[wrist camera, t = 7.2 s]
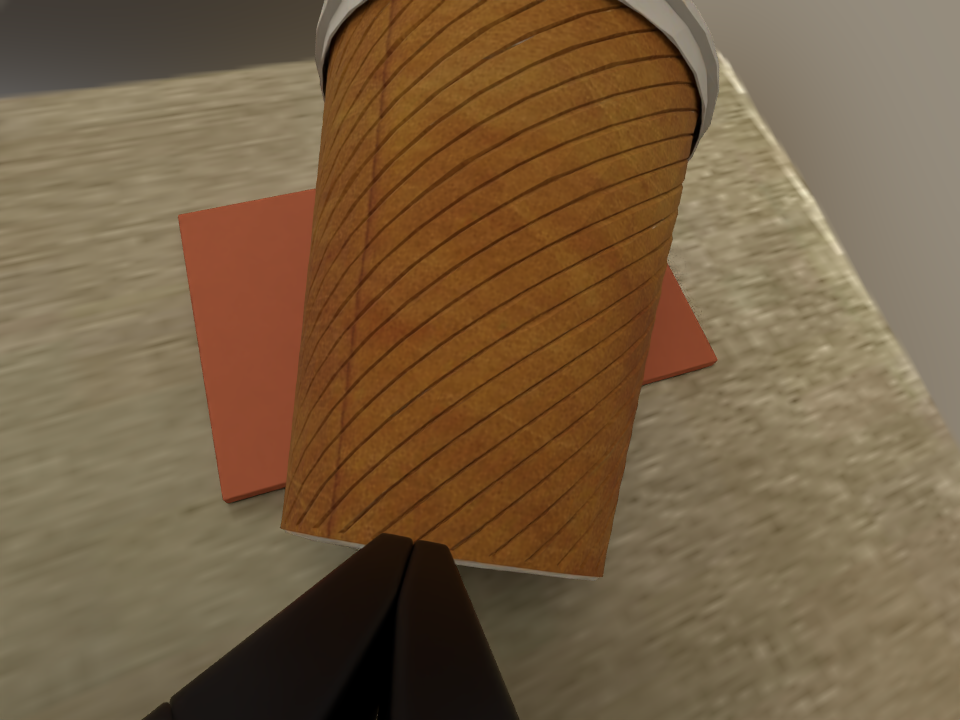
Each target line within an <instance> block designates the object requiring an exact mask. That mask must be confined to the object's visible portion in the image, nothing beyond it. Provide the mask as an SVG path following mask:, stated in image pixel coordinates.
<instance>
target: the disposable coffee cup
mask: <svg viewBox="0 0 960 720" xmlns="http://www.w3.org/2000/svg"><path fill="white" fill-rule="evenodd" d="M315 62H316V65H317V69H318V73H319V77H320V86H321V91H322V95H323V99H324V113H323V126H322V134H321V146H320V154H319V164H318V176H317V182H316V194H315V206H314V212H313V224H312V235H311V246H310V256H309V264H308V271H307V283H306V292H305V300H304V312H303V324H302V333H301V344H300V352H299V361H298V372H297V382H296V390H295V401H294V412H293V419H292V430H291V441H290V451H289V458H288V469H287V479H286V489H285V497H284V506H283V515H282V523H281V527H280V528H281V529H284V530H285V532H287V533H291V534H294V535H297V536H300V537H303V538H306V539H309V540H313V541H318V542H324V543H330V544H335V545H341V546H347V547H353V548H358V549H361V548H363V547H364V546H365V545H367V544H368V543H369V542H370V541H372V540H373V539H374V538H376V537H377V536H378V535H380V534H382V533H389V534H394V535H399V536H404V537H409V538H411V539H412V540H413V542H414V543H415V542H416V541H418V540H425V541H430V542H435V543H440V544H445V545H446V546H448V548H449V550H450V552H451V554H452V557H453V559H454V561H455V564H457V565H464V566H471V567H477V568H486V569H494V570H502V571H511V572H519V573H527V574H536V575H544V576H553V577H561V578H570V579H581V580H593V581H595V580H597V579H598V577H603V572H604V566H605V559H606V553H607V548H608V544H609V539H610V535H611V531H612V525H613V519H614V514H615V510H616V505H617V501H618V495H619V489H620V484H621V481H622V477H623V473H624V469H625V463H626V456H627V451H628V447H629V443H630V439H631V435H632V427H633V422H634V418H635V414H636V410H637V406H638V399H639V394H640V390H641V387H642V383H643V380H644V372H645V364H646V360H647V356H648V353H649V349H650V342H651V335H652V331H653V327H654V323H655V320H656V310H657V307H658V303H659V300H660V296H661V292H662V282H663V278H664V275H665V271H666V268H667V257H668V254H669V250H670V247H671V243H672V240H673V239H672V232H673V229H674V225H675V222H676V218H677V215H678V206H679V204H680V199H681V194H682V189H683V186H682V183H683V181H684V179H685V174H686V169H687V163H688V161H689V160H690V159H691V158H692V156H693V154H694V152H695V150H696V148H697V145H698V143H699V141H700V139H701V138H702V136H703V135H704V133H705V132H706V130H707V129H708V127H709V126H710V124H711V120H712V116H713V112H714V108H715V104H716V100H717V96H718V93H719V62H718V57H717V53H716V49H715V45H714V41H713V37H712V34H711V32H710V31H709V29H708V27H707V25H706V23H705V21H704V19H703V17H702V16H701V14H700V12H699V10H698V9H697V7H696V6H695V5H694V4H693V1H692V0H325V1H324V5H323V8H322V11H321V15H320V18H319V22H318V25H317V29H316V49H315Z"/></svg>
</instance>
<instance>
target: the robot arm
mask: <svg viewBox="0 0 960 720" xmlns="http://www.w3.org/2000/svg"><path fill="white" fill-rule="evenodd" d="M377 715H378V716H377ZM376 718H377V720H519V717H518V715H517V712H516V710H515V707H514V705H513V703H512V700H511V698H510V695H509V693H508V690H507V688H506V686H505V683H504V681H503V678H502V676H501V673H500V671H499V669H498V666H497V664H496V661H495V659H494V656H493V654H492V651H491V649H490V647H489V644H488V642H487V639H486V637H485V634H484V632H483V630H482V627H481V625H480V622H479V620H478V617H477V615H476V613H475V610H474V608H473V605H472V603H471V600H470V598H469V596H468V593H467V591H466V588H465V586H464V583H463V581H462V579H461V576H460V574H459V571H458V569H457V566H456V564H455V561H454V559H453V557H452V554H451V552H450V550H449V548H448V546H446V545H445V544H440V543H435V542H430V541H425V540H418V541H416V542H415V543H414V542H413V540H412V539H411V538H409V537H404V536H399V535H394V534H389V533H382V534H380V535H378V536H377V537H376V538H374V539H373V540H372V541H370V542H369V543H368V544H367V545H365V546H364V547H363V548H361V549H360V550H359V551H358V552H356V553H355V554H354V555H353V556H351V557H350V558H349V559H347V560H346V561H345V562H344V563H342V564H341V565H340V566H338V567H337V568H336V569H335V570H333V571H332V572H331V573H329V574H328V575H327V576H326V577H324V578H323V579H322V580H320V581H319V582H318V583H317V584H315V585H314V586H313V587H312V588H310V589H309V590H308V591H306V592H305V593H304V594H303V595H301V596H300V597H299V598H297V599H296V600H295V601H294V602H292V603H291V604H290V605H288V606H287V607H286V608H285V609H283V610H282V611H281V612H280V613H278V614H277V615H276V616H274V617H273V618H272V619H271V620H269V621H268V622H267V623H265V624H264V625H263V626H262V627H260V628H259V629H258V630H256V631H255V632H254V633H253V634H251V635H250V636H249V637H247V638H246V639H245V640H244V641H242V642H241V643H240V644H239V645H237V646H236V647H235V648H233V649H232V650H231V651H230V652H228V653H227V654H226V655H224V656H223V657H222V658H221V659H219V660H218V661H217V662H215V663H214V664H213V665H212V666H210V667H209V668H208V669H207V670H205V671H204V672H203V673H201V674H200V675H199V676H198V677H196V678H195V679H194V680H192V681H191V682H190V683H189V684H187V685H186V686H185V687H183V688H182V689H181V690H180V691H178V692H177V693H176V694H174V695H173V696H172V697H171V699H170V704H169V703H167V702H165V703H162V704H161V705H160V706H159V707H157V708H156V709H155V710H153V711H152V712H151V713H150V714H148V715H147V716H146V717H144V718H143V719H142V720H376Z"/></svg>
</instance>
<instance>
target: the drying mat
mask: <svg viewBox="0 0 960 720" xmlns="http://www.w3.org/2000/svg"><path fill="white" fill-rule="evenodd" d="M315 194H316V189H311V190H305V191H300V192H295V193H290V194H285V195H279V196H274V197H269V198H264V199H259V200H253V201H248V202H243V203H238V204H233V205H227V206H222V207H217V208H212V209H207V210H201V211H196V212H191V213H186V214H181V215H178V220H179V226H180V232H181V239H182V245H183V251H184V258H185V264H186V270H187V276H188V283H189V289H190V295H191V302H192V308H193V314H194V321H195V327H196V333H197V339H198V346H199V352H200V358H201V365H202V371H203V377H204V384H205V390H206V396H207V402H208V409H209V415H210V421H211V428H212V434H213V440H214V447H215V453H216V459H217V466H218V472H219V478H220V484H221V491H222V497H223V500H224V501H225V502H226V503H231V502H235V501H238V500H242V499H245V498H249V497H252V496H256V495H259V494H263V493H266V492H270V491H273V490H277V489H280V488H284V487H286V479H287V469H288V458H289V451H290V441H291V430H292V419H293V412H294V401H295V390H296V382H297V372H298V361H299V352H300V344H301V333H302V324H303V312H304V300H305V292H306V283H307V271H308V264H309V256H310V246H311V235H312V224H313V212H314V206H315ZM716 361H717V358H716V356H715V354H714V352H713V350H712V348H711V346H710V344H709V342H708V340H707V338H706V336H705V334H704V333H703V331H702V329H701V327H700V325H699V323H698V321H697V319H696V317H695V315H694V313H693V311H692V309H691V308H690V306H689V304H688V302H687V300H686V298H685V296H684V294H683V292H682V290H681V288H680V286H679V284H678V283H677V281H676V279H675V277H674V275H673V273H672V271H671V269H670V267H669V265H668V263H667V268H666V271H665V275H664V278H663V282H662V292H661V296H660V300H659V303H658V307H657V310H656V320H655V323H654V327H653V331H652V335H651V342H650V349H649V353H648V356H647V360H646V364H645V372H644V380H643V383H642V385H645V384H649V383H652V382H656V381H659V380H663V379H666V378H670V377H673V376H677V375H680V374H684V373H687V372H691V371H694V370H698V369H701V368H705V367H708V366H712V365H713V364H714V363H715V362H716Z"/></svg>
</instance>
